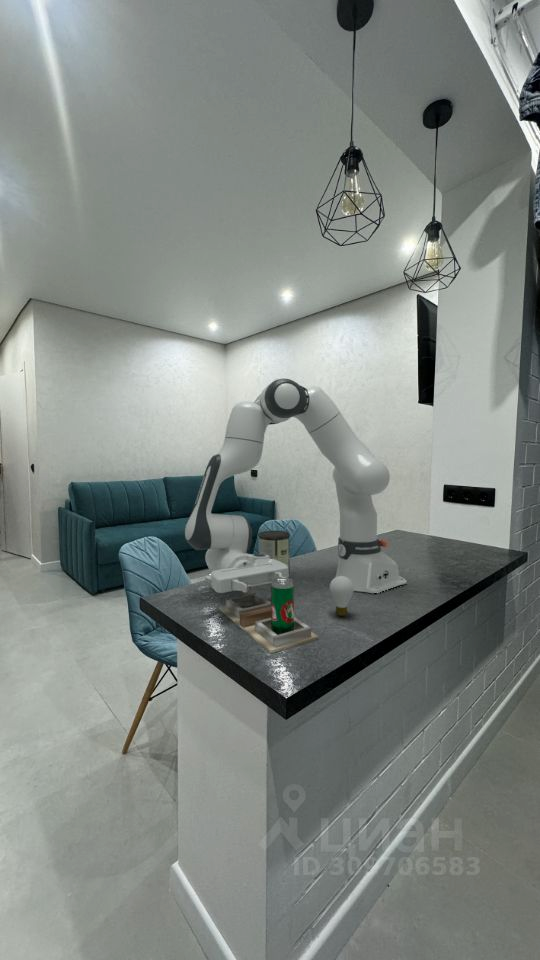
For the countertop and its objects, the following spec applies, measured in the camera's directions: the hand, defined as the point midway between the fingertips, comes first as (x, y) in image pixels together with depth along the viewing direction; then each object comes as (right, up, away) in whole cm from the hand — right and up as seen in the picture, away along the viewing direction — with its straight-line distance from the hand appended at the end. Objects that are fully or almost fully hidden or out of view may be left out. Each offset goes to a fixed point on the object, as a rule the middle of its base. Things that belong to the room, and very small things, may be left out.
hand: (265, 585), depth 92 cm
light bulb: (+19, -9, +5) cm, 21 cm away
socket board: (0, -9, +1) cm, 9 cm away
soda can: (+4, -9, -6) cm, 12 cm away
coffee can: (+2, -7, +37) cm, 38 cm away
